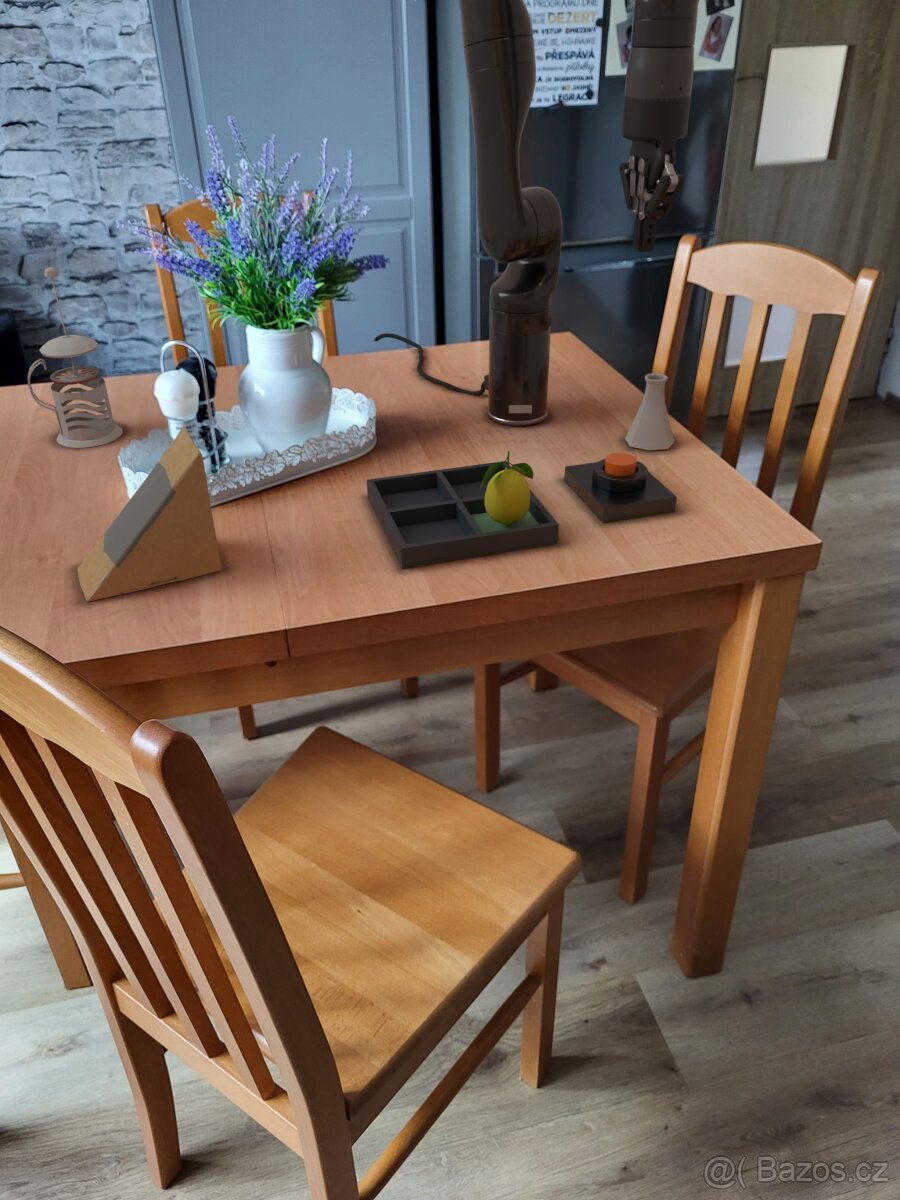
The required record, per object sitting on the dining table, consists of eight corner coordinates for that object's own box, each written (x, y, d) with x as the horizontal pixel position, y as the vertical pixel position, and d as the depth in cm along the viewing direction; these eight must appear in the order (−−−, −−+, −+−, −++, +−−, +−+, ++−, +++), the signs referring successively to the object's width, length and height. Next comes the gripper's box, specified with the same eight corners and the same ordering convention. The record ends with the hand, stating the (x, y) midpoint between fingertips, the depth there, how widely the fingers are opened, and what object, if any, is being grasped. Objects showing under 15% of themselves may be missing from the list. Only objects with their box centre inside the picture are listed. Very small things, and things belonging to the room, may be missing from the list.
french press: (125, 441, 141) (88, 271, 128) (44, 454, 138) (-3, 280, 124) (120, 419, 149) (84, 256, 136) (42, 430, 146) (-2, 264, 132)
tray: (367, 497, 124) (366, 479, 123) (505, 478, 129) (506, 460, 127) (402, 568, 108) (401, 548, 107) (558, 544, 113) (559, 524, 111)
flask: (674, 453, 135) (682, 386, 129) (623, 450, 136) (629, 383, 131) (674, 434, 141) (682, 369, 135) (625, 431, 142) (631, 367, 137)
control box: (564, 481, 128) (565, 453, 126) (631, 471, 130) (633, 444, 128) (603, 523, 117) (605, 494, 115) (675, 512, 119) (678, 484, 117)
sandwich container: (75, 568, 110) (43, 449, 102) (205, 539, 115) (184, 424, 107) (85, 603, 103) (52, 479, 95) (222, 571, 109) (202, 451, 101)
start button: (599, 467, 123) (600, 454, 122) (627, 463, 124) (628, 450, 123) (612, 479, 120) (613, 466, 119) (640, 475, 120) (642, 462, 119)
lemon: (480, 538, 113) (480, 462, 107) (478, 516, 118) (478, 442, 112) (535, 537, 113) (538, 461, 107) (531, 515, 118) (534, 441, 112)
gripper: (716, 95, 102) (696, 259, 112) (661, 87, 113) (646, 237, 123) (654, 98, 101) (639, 264, 110) (603, 89, 112) (593, 241, 121)
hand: (643, 250), depth 116 cm, fingers closed
